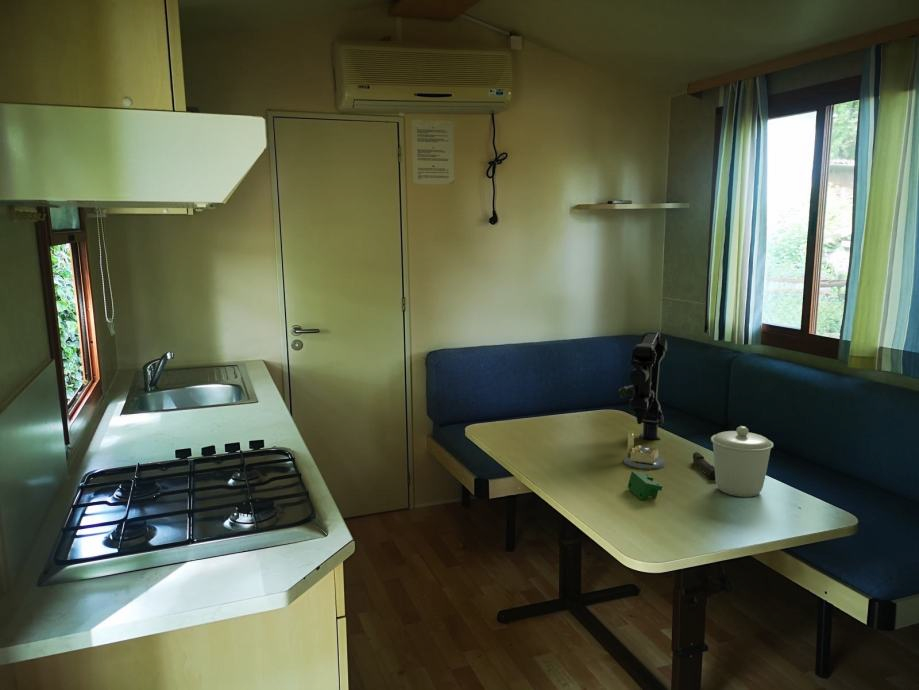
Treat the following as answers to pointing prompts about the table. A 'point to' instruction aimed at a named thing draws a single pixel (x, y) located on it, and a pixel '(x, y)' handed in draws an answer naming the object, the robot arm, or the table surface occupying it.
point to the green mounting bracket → (643, 485)
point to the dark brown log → (704, 466)
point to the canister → (740, 461)
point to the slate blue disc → (640, 465)
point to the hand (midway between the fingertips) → (641, 420)
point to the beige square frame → (638, 456)
